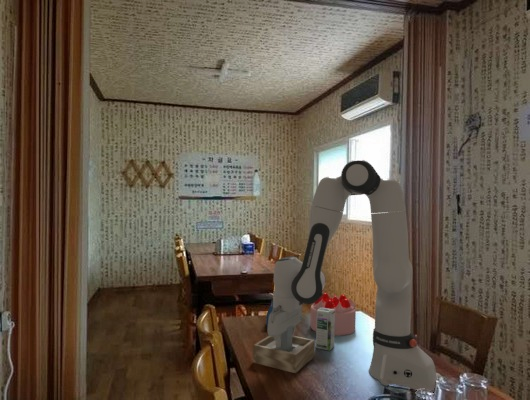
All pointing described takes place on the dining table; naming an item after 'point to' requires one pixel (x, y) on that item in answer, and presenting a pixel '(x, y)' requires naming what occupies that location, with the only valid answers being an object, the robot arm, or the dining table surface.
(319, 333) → the syrup box
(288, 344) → the peg
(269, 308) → the perfume bottle
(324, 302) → the cake
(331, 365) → the dining table surface
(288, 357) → the crate
